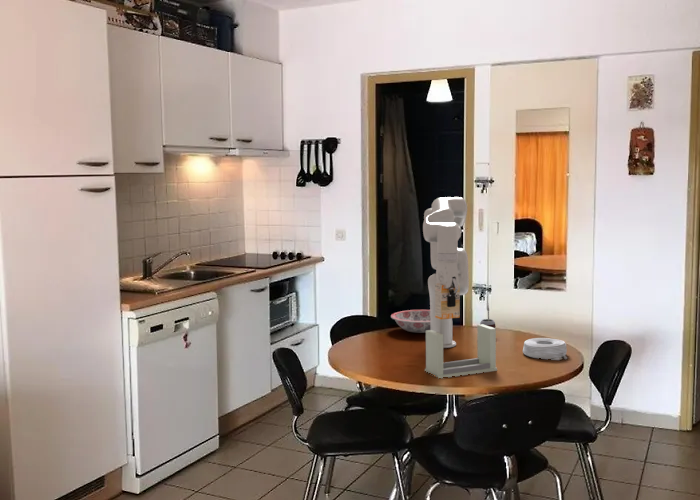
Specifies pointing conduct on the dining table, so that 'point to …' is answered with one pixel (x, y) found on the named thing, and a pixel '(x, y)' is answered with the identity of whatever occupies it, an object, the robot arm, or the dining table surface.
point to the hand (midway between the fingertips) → (447, 304)
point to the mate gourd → (488, 320)
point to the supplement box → (441, 303)
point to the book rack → (461, 367)
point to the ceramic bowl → (413, 320)
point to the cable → (545, 348)
